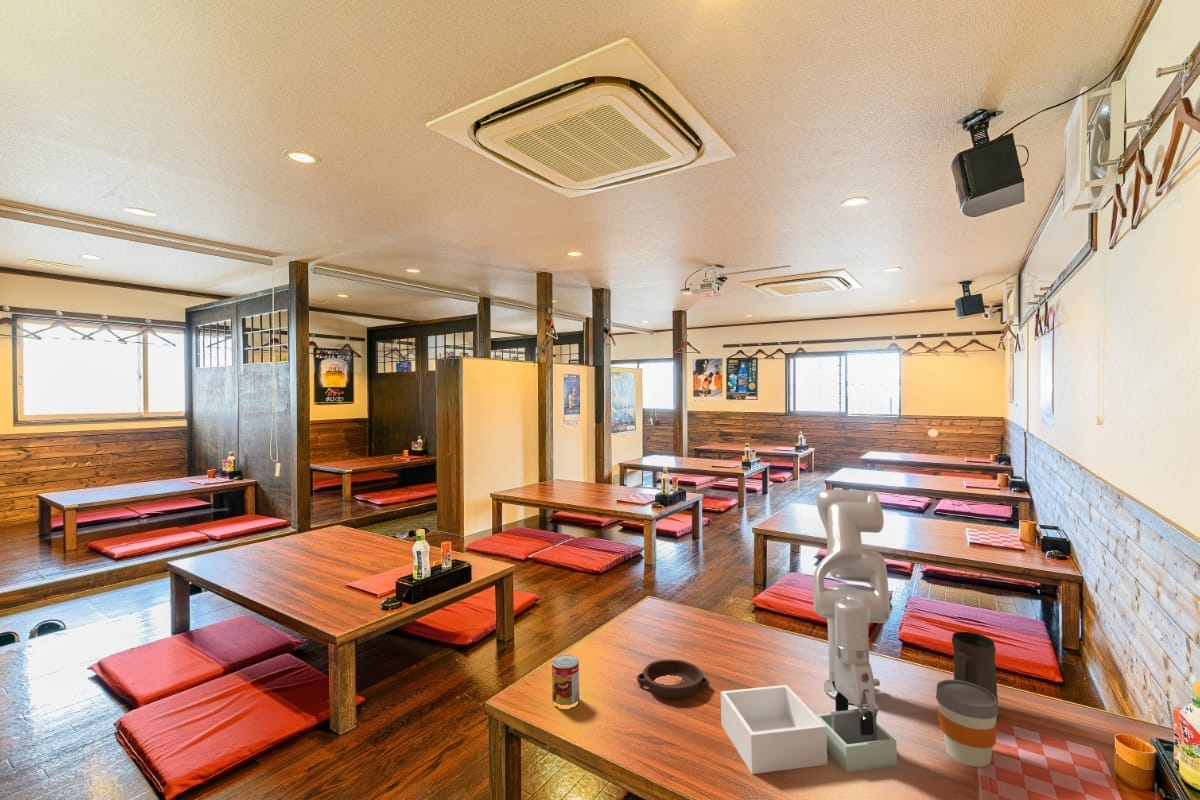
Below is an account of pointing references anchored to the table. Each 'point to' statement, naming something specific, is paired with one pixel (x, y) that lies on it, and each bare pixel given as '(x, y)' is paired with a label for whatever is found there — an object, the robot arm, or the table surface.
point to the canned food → (565, 679)
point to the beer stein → (975, 660)
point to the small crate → (857, 742)
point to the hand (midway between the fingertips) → (853, 722)
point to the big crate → (773, 729)
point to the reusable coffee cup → (967, 721)
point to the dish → (676, 668)
